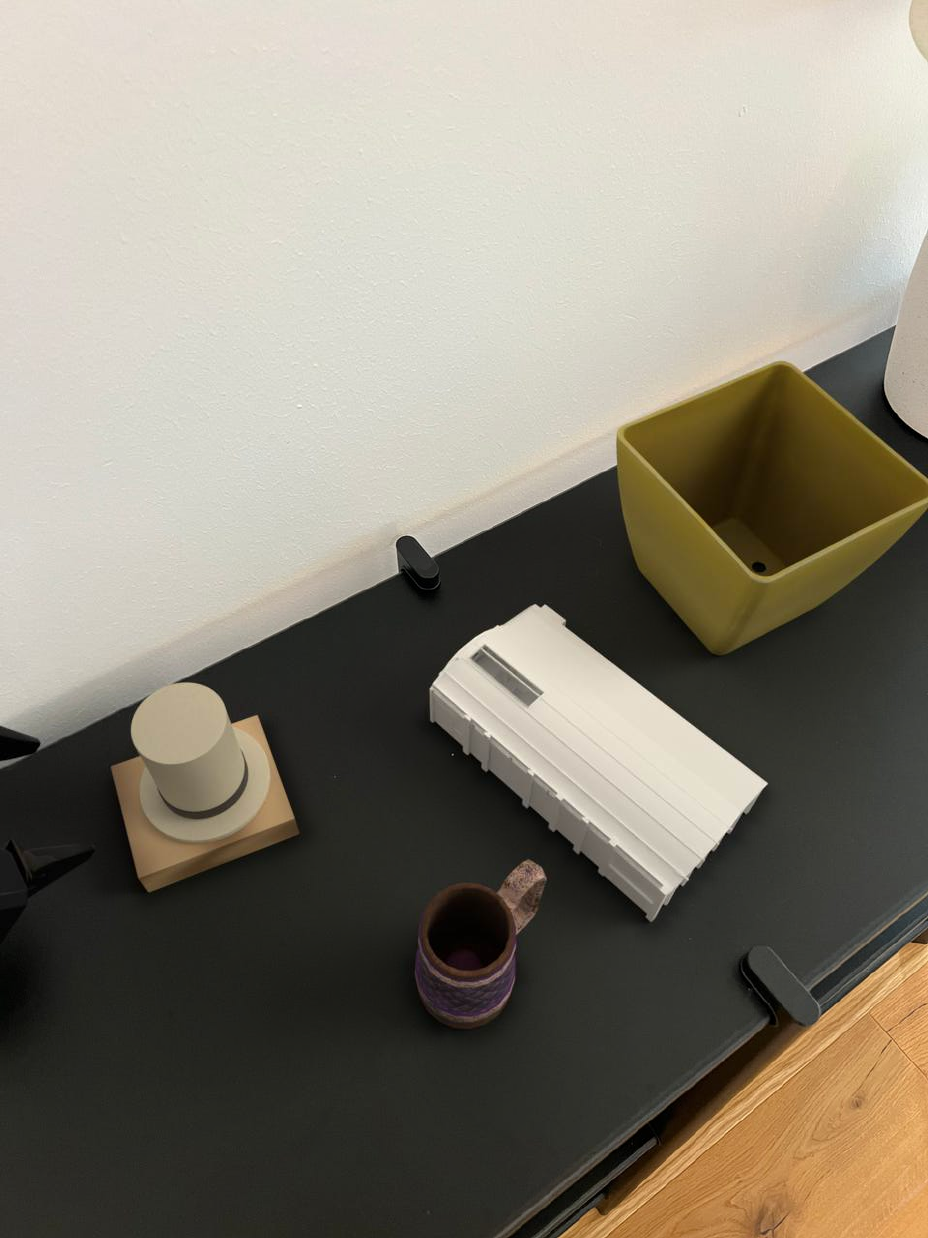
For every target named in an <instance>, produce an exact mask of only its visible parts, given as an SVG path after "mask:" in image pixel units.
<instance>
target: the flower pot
mask: <svg viewBox="0 0 928 1238" xmlns="http://www.w3.org/2000/svg"><path fill="white" fill-rule="evenodd" d="M615 440H616V442H615V445H616V446H615V447H616V449H615V451H616V468H617V470H616V471H617V482H618V483H617V484H618V491H619V497H620V504H621V509H622V516H623V520H624V524H625V528H626V533H627V537H628V541H629V544H630V547H631V551H632V554H633V557H634V560H635V563H636V566H637V568H638V570H639V572H640V573H641V574H642V575H643V577H644V578H645V579H646V580H647V581H648V583H650V584H651V586H652V587H653V588H654V589H655V590H656V591H657V593H658V594H659V595H660V596H661V597H662V598H663V600H664V601H665V602H666V603H667V604H668V605H669V606H670V608H671V609H672V610H673V611H674V612H675V614H676V615H677V616H679V619H681V620H682V621H683V623H684V624H685V625H686V626H687V627H688V628H689V630H690V631H691V632H692V634H693V635H695V637H697V639H698V640H699V641H700V642H701V644H702V645H703V646H704V647H705V648H706V650H707V651H708V652H710V653H711V654H713V655H715V656H726V655H727V654H730V653H731V652H733V651H736V650H737V649H739V648H741V647H743V646H746V645H747V644H749V643H750V642H752V641H755V640H757V639H758V638H760V637H762V636H764V635H766V634H767V633H769V632H772V631H773V630H776V629H777V628H779V627H781V626H783V625H785V624H786V623H788V622H791V621H793V620H794V619H796V618H798V617H800V616H802V615H804V614H806V613H807V612H810V611H811V610H813V609H815V608H817V607H818V606H820V605H822V604H823V603H824V602H826V601H827V600H828V599H830V598H831V597H832V596H834V595H835V594H837V593H838V592H839V591H840V590H842V589H843V588H845V587H846V586H847V585H849V584H850V583H851V582H852V581H853V580H855V579H856V578H858V577H859V576H860V575H861V574H862V573H864V572H865V571H866V570H867V569H868V568H869V567H870V566H872V565H873V564H874V563H875V562H877V560H879V559H880V558H881V557H882V556H883V555H884V554H885V553H886V552H887V551H888V550H889V549H891V548H892V547H893V545H894V544H896V543H897V542H898V541H899V540H900V539H901V538H902V537H903V536H904V534H906V532H908V531H909V529H910V528H911V527H913V525H915V523H916V522H917V521H918V520H919V519H920V518H921V517H922V516H923V514H924V513H925V512H926V511H927V510H928V477H926V476H925V475H924V474H923V473H921V471H919V470H918V469H917V468H915V467H914V466H913V465H912V464H911V463H909V462H908V461H907V460H906V459H905V458H903V456H901V455H900V454H899V453H898V452H896V451H895V450H894V449H893V448H892V447H891V446H889V445H888V444H887V443H885V441H884V440H882V439H881V438H880V437H879V436H878V435H876V434H875V433H874V432H873V431H872V430H870V429H869V428H868V427H867V426H866V425H864V424H863V423H862V422H861V421H860V420H859V419H857V417H855V416H854V415H853V414H852V413H851V412H849V410H847V409H846V408H844V406H842V405H841V404H840V403H839V402H838V401H837V400H836V399H834V398H833V397H832V396H831V395H830V394H829V393H827V392H826V391H825V390H824V389H822V387H820V386H819V385H818V384H817V383H816V382H815V381H813V380H812V379H811V378H810V377H808V375H806V374H805V372H804V371H802V370H801V369H799V368H798V367H797V366H795V364H793V363H792V362H791V363H790V362H788V361H787V360H786V361H785V360H776V361H773V362H771V363H769V364H766V365H764V366H762V367H759V368H757V369H755V370H752V371H750V372H748V373H745V374H743V375H741V376H738V377H736V378H733V379H731V380H729V381H726V382H723V383H721V384H719V385H717V386H714V387H712V388H709V389H707V390H705V391H703V392H699V393H698V394H696V395H692V396H690V397H687V398H685V399H684V400H683V399H682V400H681V401H678V402H675V403H674V404H670V405H669V406H667V407H663V408H661V409H659V410H657V411H654V412H651V413H650V414H647V415H645V416H642V417H640V418H637V419H634V420H632V421H630V422H627V423H625V424H623V425H621V426H619V427H618V428H617V431H616V439H615ZM754 563H760V564H763V565H764V566H765V569H764V571H762V572H757V571H756V570H755V569H753V564H754Z"/></svg>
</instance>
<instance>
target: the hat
mask: <svg viewBox="0 0 928 1238" xmlns="http://www.w3.org/2000/svg"><path fill="white" fill-rule="evenodd" d="M231 724H232V722H231V719H230V716H229V714H228V712H227V708H226V706H225V703H224V701H223V699H222V697H221V696H220V695H219V694H218V693H216V691H214V690H213V689H211V688H210V687H208V686H205V685H203V684H200V683H195V682H176V683H173V684H169V685H166V686H163V687H161V688H159V689H157V690H156V691H153V693H151V694H149V695H148V696H147V697H146V698H145V699H144V700H143V701H142V702H141V703H140V704H139V706H138V707H137V709H136V710H135V712H134V714H133V718H132V720H131V723H130V736H131V741H132V743H133V745H134V747H135V749H136V751H137V753H138V755H139V756H141V758H142V760H143V762H144V764H145V765H146V766H145V769H144V771H143V774H142V777H141V781H140V791H139V794H140V802H141V805H142V809H143V811H144V813H145V815H146V817H147V818H148V820H149V821H150V823H151V824H152V825H153V826H154V827H155V828H156V829H157V830H158V831H159V832H161V833H162V834H163V835H165V836H167V837H169V838H171V839H174V840H176V841H180V842H185V843H207V842H213V841H217V840H220V839H223V838H225V837H228V836H230V835H232V834H234V833H235V832H237V831H239V830H240V829H242V828H243V827H244V826H245V825H247V824H248V823H249V822H250V821H251V820H252V819H253V818H254V817H255V816H256V814H257V813H258V812H259V810H260V809H261V807H262V806H263V804H264V802H265V800H266V797H267V795H268V792H269V787H270V780H271V774H270V766H269V762H268V759H267V756H266V754H265V752H264V750H263V748H262V747H261V746H260V744H259V743H258V742H257V741H256V740H255V739H254V738H253V737H252V736H250V735H249V734H247V733H246V732H244V731H242V730H240V729H237V728H234V727H232V725H231Z"/></svg>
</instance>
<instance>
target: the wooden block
mask: <svg viewBox="0 0 928 1238" xmlns="http://www.w3.org/2000/svg"><path fill="white" fill-rule="evenodd" d="M231 725H232V727H234V728H237V729H240V730H242V731H244V732H246V733H247V734H249V735H250V736H252V737H253V738H254V739H255V740H256V741H257V742H258V743H259V744H260V746H261V747H262V748H263V750H264V752H265V754H266V756H267V759H268V762H269V766H270V774H271V780H270V787H269V792H268V795H267V797H266V800H265V802H264V804H263V806H262V807H261V809H260V810H259V812H258V813H257V814H256V816H255V817H254V818H253V819H252V820H251V821H250V822H249V823H248V824H247V825H245V826H244V827H243V828H242V829H240V830H239V831H237V832H235V833H234V834H232V835H230V836H228V837H225V838H223V839H220V840H217V841H213V842H207V843H185V842H180V841H176V840H174V839H171V838H169V837H167V836H165V835H163V834H162V833H161V832H159V831H158V830H157V829H156V828H155V827H154V826H153V825H152V824H151V823H150V821H149V820H148V818H147V817H146V815H145V813H144V811H143V809H142V805H141V802H140V794H139V791H140V781H141V777H142V774H143V771H144V769H145V766H146V765H145V764H144V762H143V760H142V758H141V756H140V755H139V756H136V757H134V758H130V759H128V760H125V761H122V762H120V763H119V762H118V763H117V764H113V765H111V766H110V770H111V773H112V777H113V781H114V786H115V789H116V794H117V799H118V802H119V807H120V810H121V814H122V819H123V821H124V827H125V831H126V835H127V838H128V842H129V847H130V850H131V855H132V859H133V863H134V867H135V871H136V876H137V879H138V881H140V883H141V884H142V886H143V888H144V889H145V890H146V891H147V892H148V893H151V892H154V891H156V890H159V889H163V888H165V887H167V886H169V885H172V884H174V883H177V882H180V881H182V880H185V879H188V878H190V877H194V876H196V875H198V874H199V873H200V874H201V873H202V872H205V871H208V870H210V869H213V868H215V867H218V866H221V865H223V864H226V863H228V862H231V861H234V860H236V859H239V858H241V857H244V856H247V855H249V854H251V853H254V852H257V851H259V850H263V849H265V848H267V847H270V846H273V845H275V844H277V843H280V842H282V841H286V840H287V839H290V838H293V837H295V836H298V835H300V831H299V827H298V825H297V821H296V818H295V815H294V813H293V812H294V811H293V809H292V807H291V804H290V801H289V799H288V798H289V797H288V795H287V793H286V789H285V787H284V785H283V781H282V779H281V776H280V774H279V771H278V768H277V765H276V762H275V759H274V757H273V754H272V751H271V748H270V745H269V743H268V739H267V737H266V734H265V731H264V729H263V727H262V723H261V720H260V718H259V715H257V714H256V715H253V716H250V717H247V718H245V719H242V720H238V721H236V722H233V723H231Z"/></svg>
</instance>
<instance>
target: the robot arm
mask: <svg viewBox="0 0 928 1238" xmlns="http://www.w3.org/2000/svg"><path fill="white" fill-rule="evenodd" d="M41 744H42V742H41V741H40V739H39V738H38V737H35V736H33V735H29V734H26V733H23V732H20V731H17V730H14V729H11V728H9V727H6V726H2V725H0V762H6V761H10V760H15V759H20V758H22V757H27V756H31V755H34V754H36V753H37V751H38V750H39V748H40V747H41ZM95 852H96V847H95V845H94V844H91V843H89V844H88V843H87V844H86V843H85V844H84V843H75V844H66V845H64V844H63V845H56V846H47V847H39V848H29V849H25V848H23V847H22V846H21V844H20V843H19V842H18V841H16V839H14V838H11V837H10V838H9V839H8V841H7V842H6V844H5V846H4V848H2V847H0V946H1V945H2V943H3V942H4V940H5V939H6V937H7V936H8V934H9V933H10V932H11V930H12V929H13V927H14V925H16V923H17V921H18V920H19V919H20V917H21V916H22V914H23V912H24V911H25V909H26V908H27V906H28V905H29V904H28V903H29V902H28V901H29V898H31V897H33V896H34V895H35V894H37V893H39V892H40V891H42V890H43V889H45V888H46V887H48V886H50V885H52V884H53V883H54V882H56V881H58V880H59V879H61V878H62V877H64V876H65V875H66V874H68V873H71V872H72V871H74V870H75V869H77V868H78V867H79V866H81V865H83V864H85V863H86V862H88V861H89V860H90V859H91V858H92V856H93V855H94V853H95Z"/></svg>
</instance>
